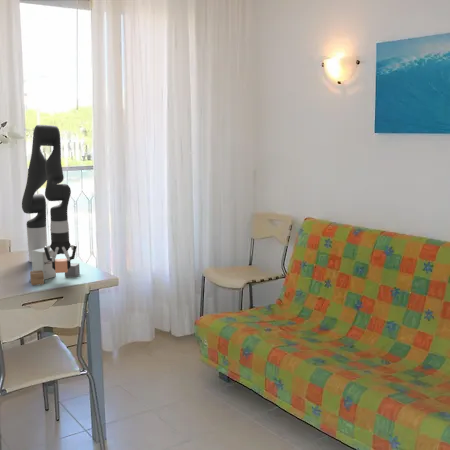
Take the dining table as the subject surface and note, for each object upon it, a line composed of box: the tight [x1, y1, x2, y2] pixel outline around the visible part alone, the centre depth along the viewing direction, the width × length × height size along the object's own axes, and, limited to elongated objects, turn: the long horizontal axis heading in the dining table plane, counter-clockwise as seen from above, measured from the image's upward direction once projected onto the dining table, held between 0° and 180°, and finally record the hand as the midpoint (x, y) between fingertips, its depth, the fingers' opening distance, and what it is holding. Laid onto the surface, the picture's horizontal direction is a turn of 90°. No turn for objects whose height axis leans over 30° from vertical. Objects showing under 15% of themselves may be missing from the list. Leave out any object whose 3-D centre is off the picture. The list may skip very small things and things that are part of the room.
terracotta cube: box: [55, 258, 68, 274], centre depth 263 cm, size 5×5×5 cm
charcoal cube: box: [64, 262, 80, 278], centre depth 274 cm, size 5×5×5 cm
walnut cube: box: [29, 270, 45, 286], centre depth 261 cm, size 5×5×5 cm
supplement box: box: [31, 248, 57, 281], centre depth 270 cm, size 7×7×13 cm
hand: (61, 268), depth 263 cm, fingers closed on terracotta cube, 5 cm apart
